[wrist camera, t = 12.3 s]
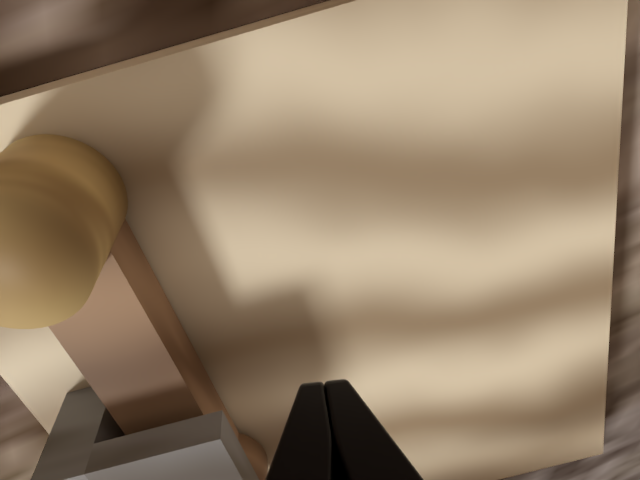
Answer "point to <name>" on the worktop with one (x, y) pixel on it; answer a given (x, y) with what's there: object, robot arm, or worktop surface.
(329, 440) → the robot arm
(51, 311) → the walnut link
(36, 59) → the worktop surface
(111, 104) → the pin board
